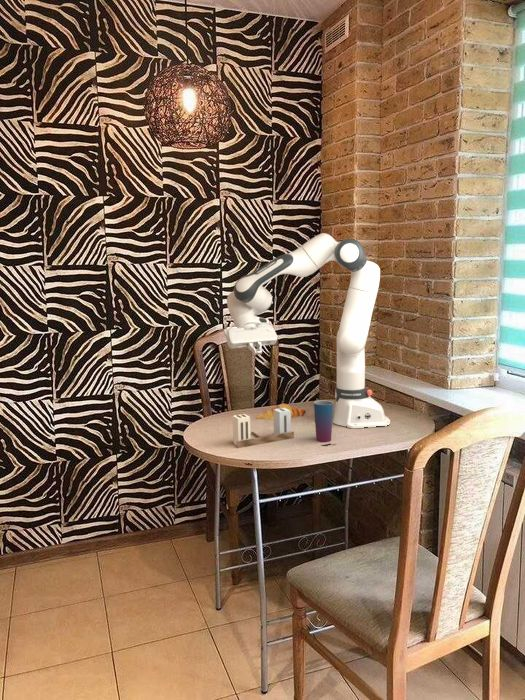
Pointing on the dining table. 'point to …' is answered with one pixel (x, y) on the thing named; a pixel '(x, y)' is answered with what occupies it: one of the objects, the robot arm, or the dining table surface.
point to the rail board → (264, 439)
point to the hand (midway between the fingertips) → (258, 353)
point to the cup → (323, 420)
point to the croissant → (270, 413)
